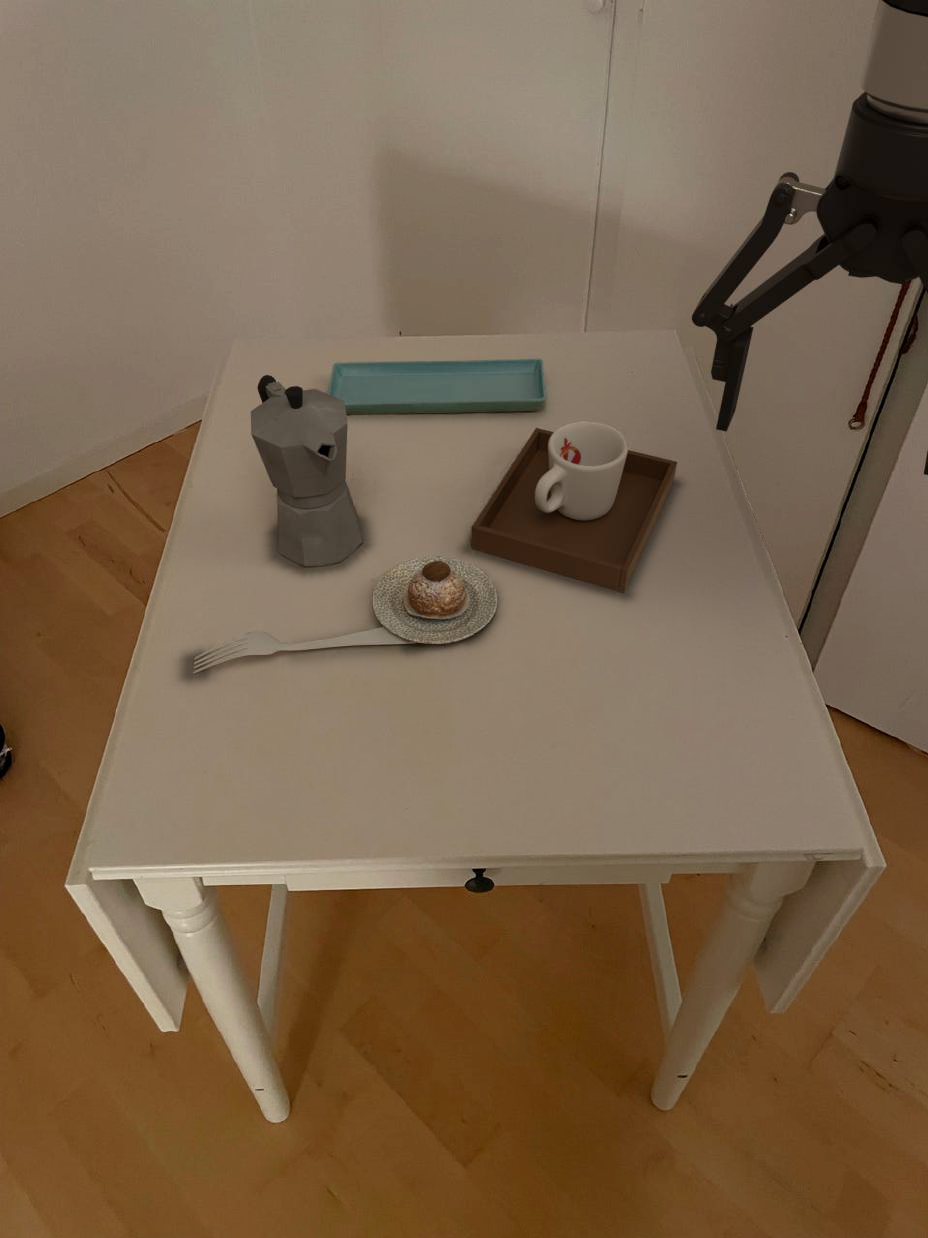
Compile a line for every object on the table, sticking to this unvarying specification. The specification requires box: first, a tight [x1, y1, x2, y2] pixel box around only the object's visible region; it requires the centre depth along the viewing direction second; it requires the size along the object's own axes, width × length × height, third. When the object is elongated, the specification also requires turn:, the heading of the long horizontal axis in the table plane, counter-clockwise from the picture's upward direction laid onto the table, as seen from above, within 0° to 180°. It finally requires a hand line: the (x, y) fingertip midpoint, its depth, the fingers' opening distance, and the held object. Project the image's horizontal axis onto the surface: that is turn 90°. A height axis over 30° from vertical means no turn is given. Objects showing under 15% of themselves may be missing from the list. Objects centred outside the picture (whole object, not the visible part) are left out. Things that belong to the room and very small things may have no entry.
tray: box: [471, 427, 678, 594], centre depth 96 cm, size 16×18×3 cm
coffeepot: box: [250, 374, 363, 568], centre depth 89 cm, size 15×9×18 cm, turn 32°
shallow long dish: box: [327, 358, 547, 415], centre depth 111 cm, size 26×9×2 cm, turn 89°
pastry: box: [371, 555, 498, 645], centre depth 86 cm, size 12×12×5 cm
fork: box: [193, 626, 418, 674], centre depth 85 cm, size 3×21×3 cm, turn 100°
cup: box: [535, 420, 629, 521], centre depth 94 cm, size 11×8×8 cm
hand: (825, 441), depth 62 cm, fingers open, 13 cm apart
